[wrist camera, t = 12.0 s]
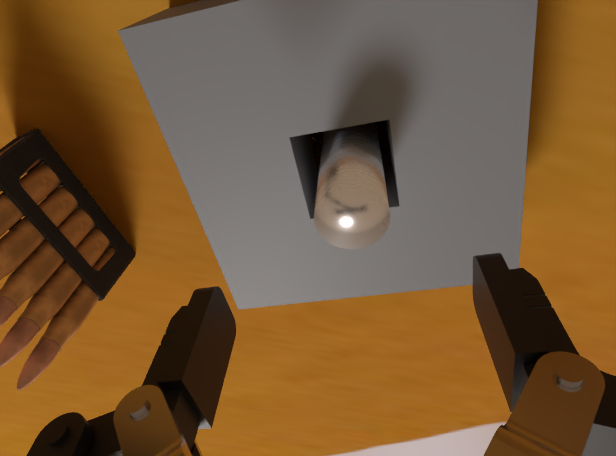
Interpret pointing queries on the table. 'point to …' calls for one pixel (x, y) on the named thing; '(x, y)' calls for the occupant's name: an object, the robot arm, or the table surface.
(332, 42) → the socket block
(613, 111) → the table surface
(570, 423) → the robot arm
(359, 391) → the table surface
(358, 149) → the metal pin
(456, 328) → the table surface
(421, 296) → the table surface
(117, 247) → the ammunition clip
